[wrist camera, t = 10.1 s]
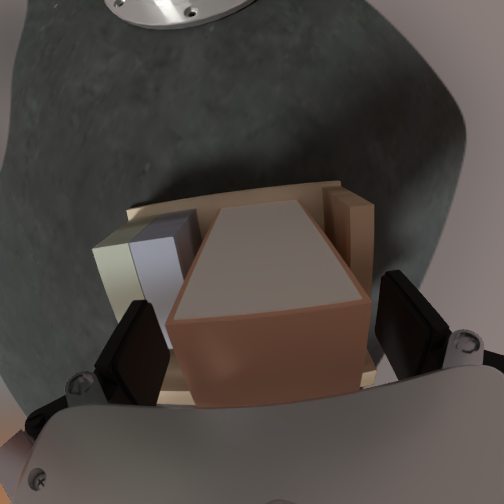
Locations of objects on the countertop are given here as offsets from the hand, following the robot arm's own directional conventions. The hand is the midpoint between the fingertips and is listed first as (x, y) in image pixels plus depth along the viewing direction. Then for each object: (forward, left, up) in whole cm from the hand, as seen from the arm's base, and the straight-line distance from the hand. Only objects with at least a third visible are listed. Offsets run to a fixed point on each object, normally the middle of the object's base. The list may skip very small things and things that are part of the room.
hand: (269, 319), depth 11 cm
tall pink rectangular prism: (0, 0, -8) cm, 8 cm away
